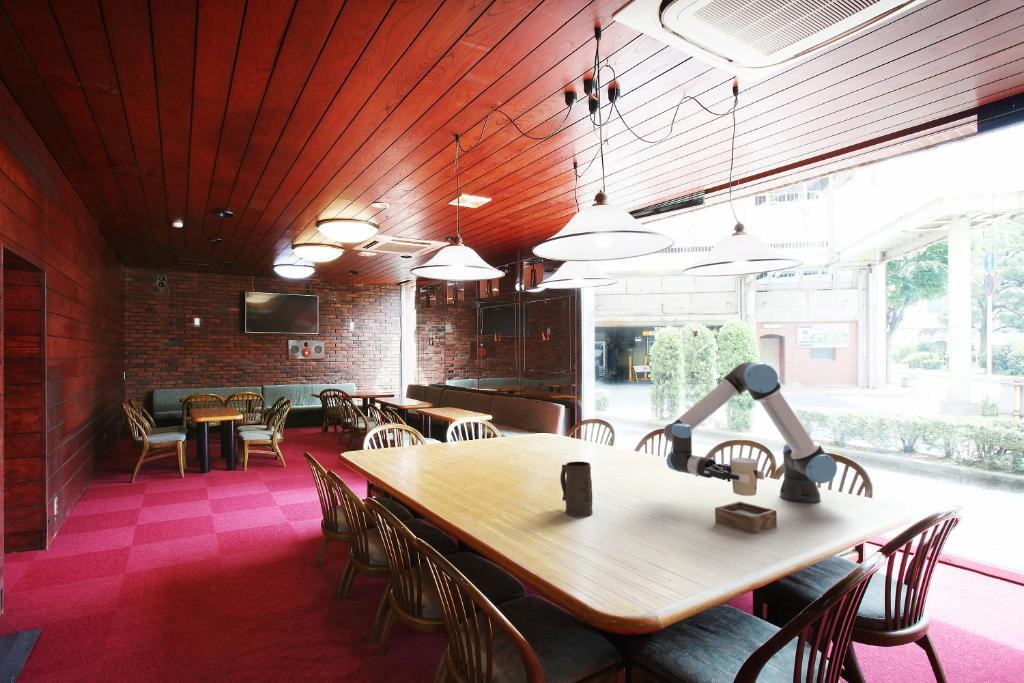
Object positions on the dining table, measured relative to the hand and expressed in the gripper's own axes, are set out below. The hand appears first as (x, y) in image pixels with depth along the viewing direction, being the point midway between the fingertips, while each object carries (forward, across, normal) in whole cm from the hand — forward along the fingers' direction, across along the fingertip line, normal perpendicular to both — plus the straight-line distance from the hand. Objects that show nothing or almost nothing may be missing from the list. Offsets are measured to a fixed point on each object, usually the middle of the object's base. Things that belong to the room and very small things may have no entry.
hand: (755, 477), depth 188 cm
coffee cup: (-5, 0, -7) cm, 8 cm away
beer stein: (-52, +41, -18) cm, 69 cm away
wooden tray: (-5, 0, -18) cm, 18 cm away
